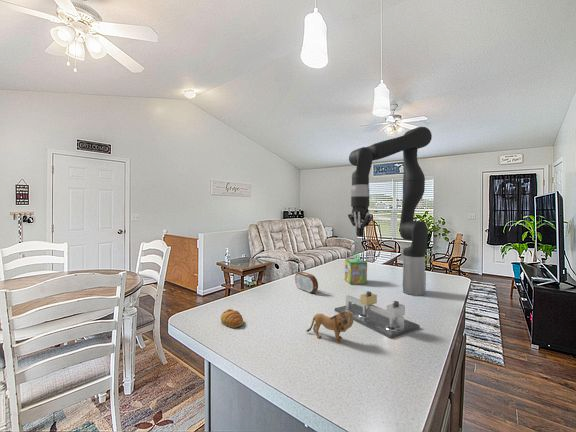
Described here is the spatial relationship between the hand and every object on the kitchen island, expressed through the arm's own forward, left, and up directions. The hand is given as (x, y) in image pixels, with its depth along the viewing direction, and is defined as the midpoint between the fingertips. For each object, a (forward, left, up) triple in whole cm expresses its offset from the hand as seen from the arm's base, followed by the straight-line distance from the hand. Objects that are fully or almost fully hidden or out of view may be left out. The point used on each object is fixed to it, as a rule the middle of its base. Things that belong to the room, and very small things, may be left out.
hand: (359, 236), depth 119 cm
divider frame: (+12, +18, -26) cm, 34 cm away
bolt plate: (+11, +18, -27) cm, 34 cm away
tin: (+13, -22, -27) cm, 37 cm away
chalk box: (-18, -21, -27) cm, 39 cm away
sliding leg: (+12, +17, -25) cm, 33 cm away
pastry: (+55, -5, -28) cm, 62 cm away
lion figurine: (+33, +21, -27) cm, 48 cm away
